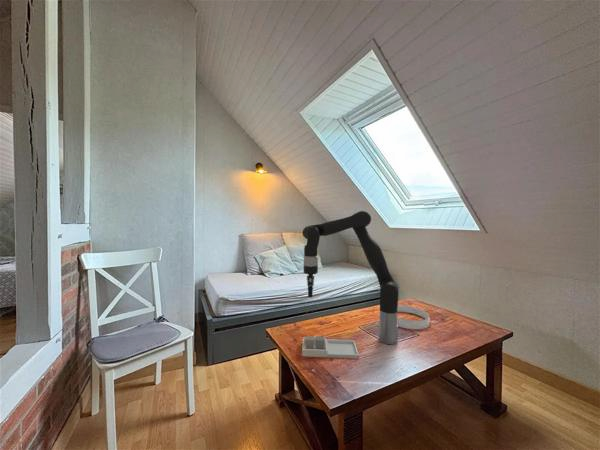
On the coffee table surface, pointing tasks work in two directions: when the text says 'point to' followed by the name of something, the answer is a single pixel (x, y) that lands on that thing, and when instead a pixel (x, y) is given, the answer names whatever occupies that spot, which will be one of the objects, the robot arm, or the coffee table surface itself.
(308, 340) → the light grey block
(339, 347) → the parts tray
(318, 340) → the blue-grey block
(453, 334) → the coffee table surface
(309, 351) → the open box
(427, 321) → the white ring
